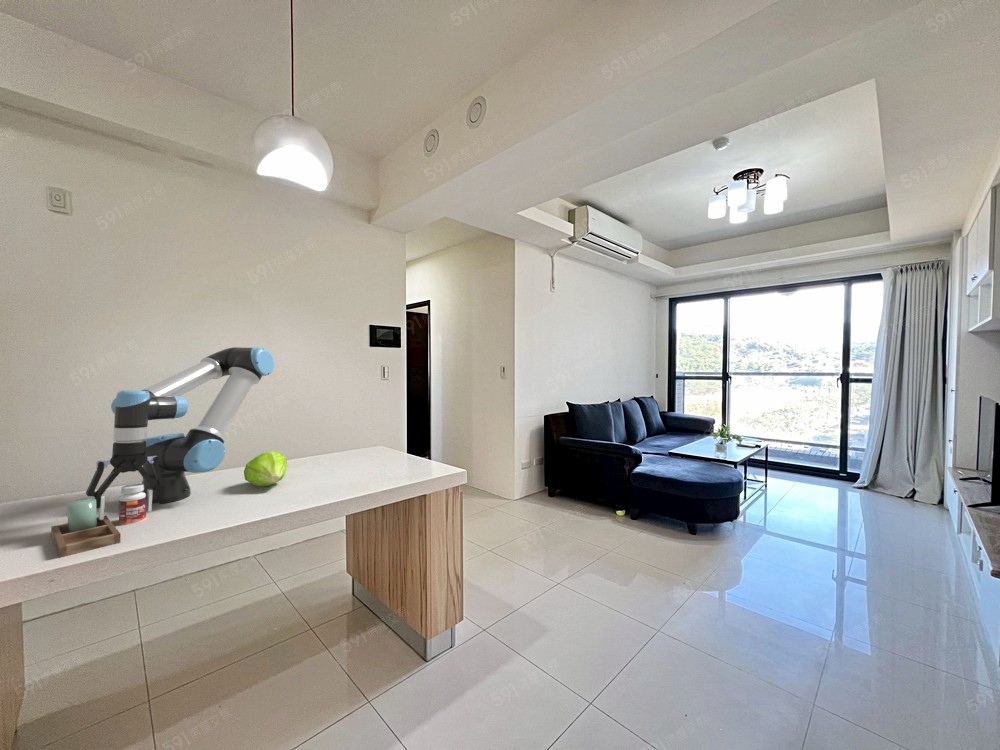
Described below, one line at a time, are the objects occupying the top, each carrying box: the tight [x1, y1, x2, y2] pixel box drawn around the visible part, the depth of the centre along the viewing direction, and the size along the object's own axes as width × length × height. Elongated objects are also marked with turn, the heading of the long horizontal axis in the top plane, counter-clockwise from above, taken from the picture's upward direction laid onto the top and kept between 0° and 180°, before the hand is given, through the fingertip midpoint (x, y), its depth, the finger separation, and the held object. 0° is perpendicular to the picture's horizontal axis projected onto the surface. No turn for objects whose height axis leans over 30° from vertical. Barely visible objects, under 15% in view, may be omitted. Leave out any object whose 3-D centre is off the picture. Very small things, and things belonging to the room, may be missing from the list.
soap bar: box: [66, 497, 98, 533], centre depth 112 cm, size 6×6×9 cm
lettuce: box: [243, 451, 288, 488], centre depth 161 cm, size 15×20×14 cm
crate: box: [50, 515, 121, 559], centre depth 109 cm, size 11×21×3 cm, turn 52°
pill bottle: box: [118, 482, 147, 525], centre depth 122 cm, size 6×6×11 cm
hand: (125, 514), depth 121 cm, fingers open, 10 cm apart
